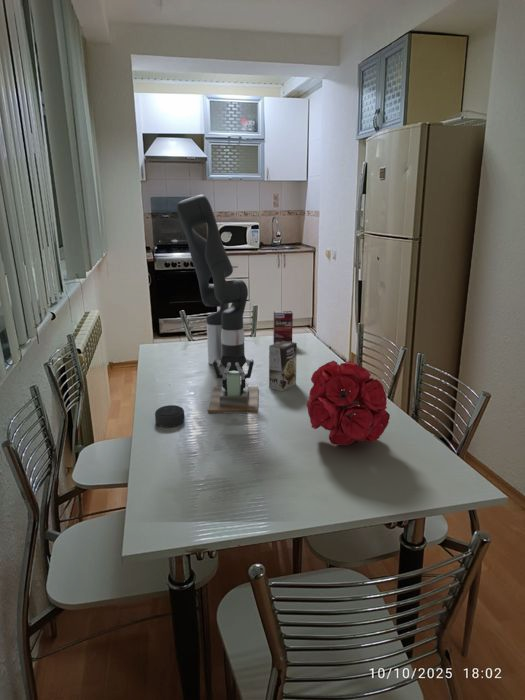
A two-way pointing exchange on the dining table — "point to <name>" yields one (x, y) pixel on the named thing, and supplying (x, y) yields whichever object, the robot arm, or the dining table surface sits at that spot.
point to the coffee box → (282, 365)
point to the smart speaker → (169, 416)
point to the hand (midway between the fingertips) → (234, 389)
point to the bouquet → (347, 403)
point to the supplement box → (283, 326)
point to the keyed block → (233, 383)
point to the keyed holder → (234, 401)
